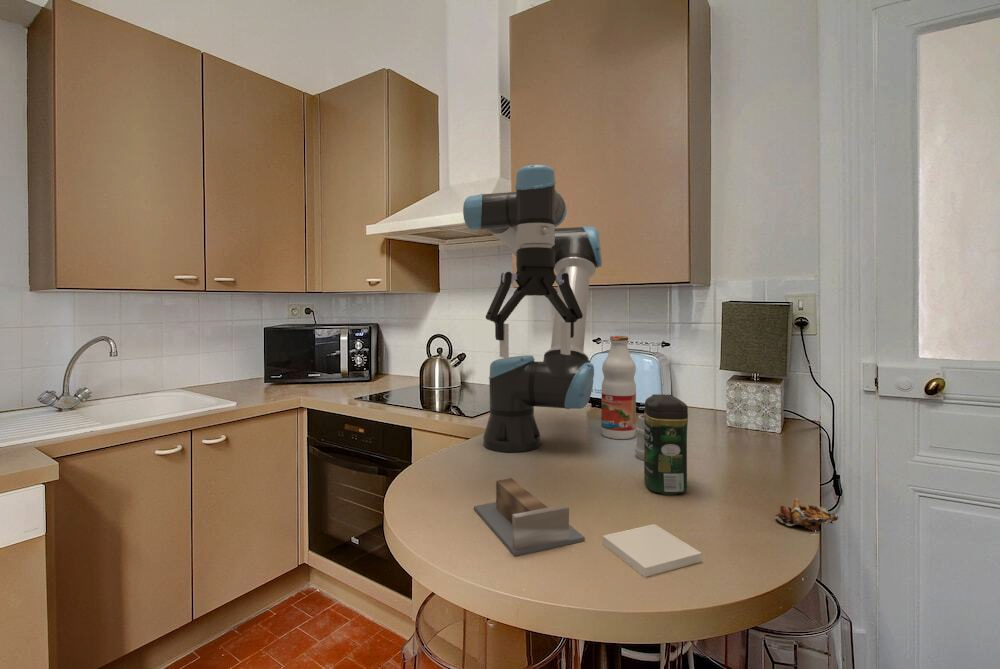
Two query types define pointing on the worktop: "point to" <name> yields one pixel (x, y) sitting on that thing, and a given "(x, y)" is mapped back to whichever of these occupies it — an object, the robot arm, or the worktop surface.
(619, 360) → the fruit juice
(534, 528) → the scraper
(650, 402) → the coffee jar
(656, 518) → the worktop surface
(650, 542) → the tile
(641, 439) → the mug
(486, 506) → the mat
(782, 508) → the pastry
